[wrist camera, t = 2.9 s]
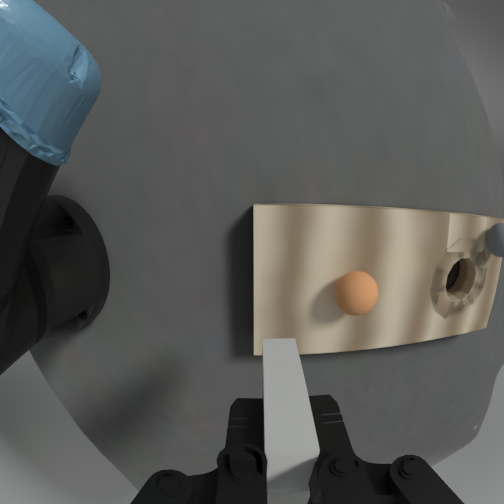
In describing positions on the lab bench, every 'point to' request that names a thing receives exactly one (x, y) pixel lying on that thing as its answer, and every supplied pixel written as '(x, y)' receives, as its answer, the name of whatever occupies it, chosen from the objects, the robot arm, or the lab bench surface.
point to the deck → (377, 266)
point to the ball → (356, 293)
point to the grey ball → (496, 239)
